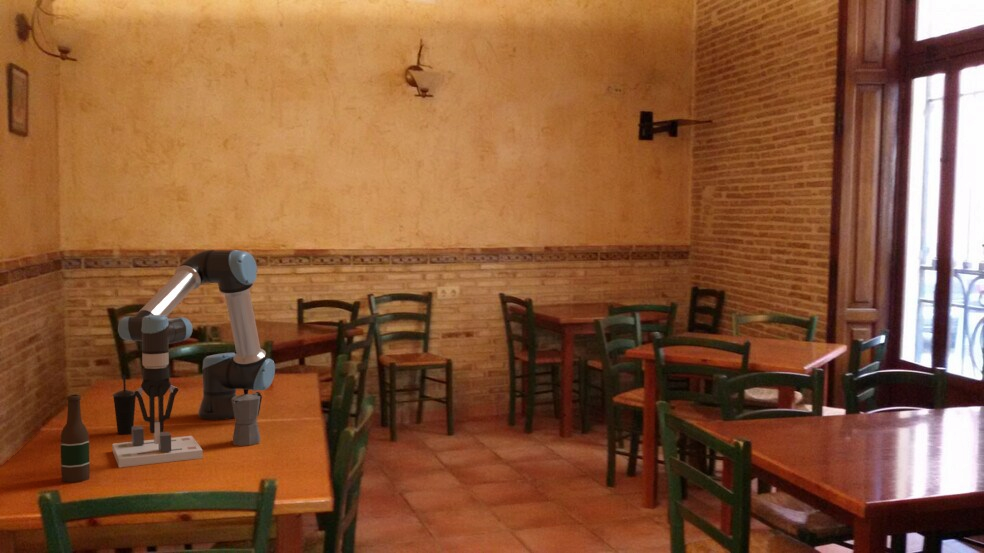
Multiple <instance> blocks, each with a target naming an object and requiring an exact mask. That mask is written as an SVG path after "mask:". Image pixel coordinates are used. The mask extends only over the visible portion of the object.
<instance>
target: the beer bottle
mask: <svg viewBox="0 0 984 553" xmlns="http://www.w3.org/2000/svg"><path fill="white" fill-rule="evenodd" d="M80 395H81V394H75V393H74V394H69V395H67V397H66V400H67V417H66V423H65V425H64V427H63V428H62V430H61V433H60V472H61V473H60V474H61V482H62V483H68V484H69V483H70V484H73V483H80V482H81V483H82V482H84V481H88V480H89V479H90V477H91V476H90V475H91V474H90V470H91V469H90V468H91V467H90V465H91V464H90V463H91V462H90V436H89V432H88V429H87V427H86V426H85V424H84V423H83V421H82V414H81V413H82V412H81V399H82V398H81V396H80Z"/></svg>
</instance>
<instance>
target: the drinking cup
mask: <svg viewBox="0 0 984 553" xmlns="http://www.w3.org/2000/svg"><path fill="white" fill-rule="evenodd" d="M122 379H123V381H122V382H123V386H122V388H123V389H121V390H118V391H116V392H114V393H112V397H113V403H114V404H113V405H114V412H115V422H116V430H117V435H121V436H122V435H123V436H124V435H125V436H126V435H130V434H131V435H132V426H135V425H134V422H135V413H136V412H135V410H136V399H137V397H136V395H135V394H134V390H131V389H127V387H126V383H127V382H126V375H125V374H123V375H122Z"/></svg>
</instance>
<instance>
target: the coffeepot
mask: <svg viewBox="0 0 984 553" xmlns="http://www.w3.org/2000/svg"><path fill="white" fill-rule="evenodd" d="M249 391H250V390H249V389H243V394H239V395H236V396H235V397H233V398H232V406H233V412H234V418H233V419H235V425H234V429H233V436H232V441H231V442H232V443H231V444H233V445H234V446H237V445H238V446H239V447H248V446H247V445H251V446H255V445H254V444H256V445H258V444H260V443H261V433H260V430H259V423H258V417H259V415H260V410H261V404H262V399H263V395H262V394H261V392H259V391H255V392H253V393H250V394H249ZM259 442H260V443H259ZM238 446H237V447H238Z"/></svg>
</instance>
